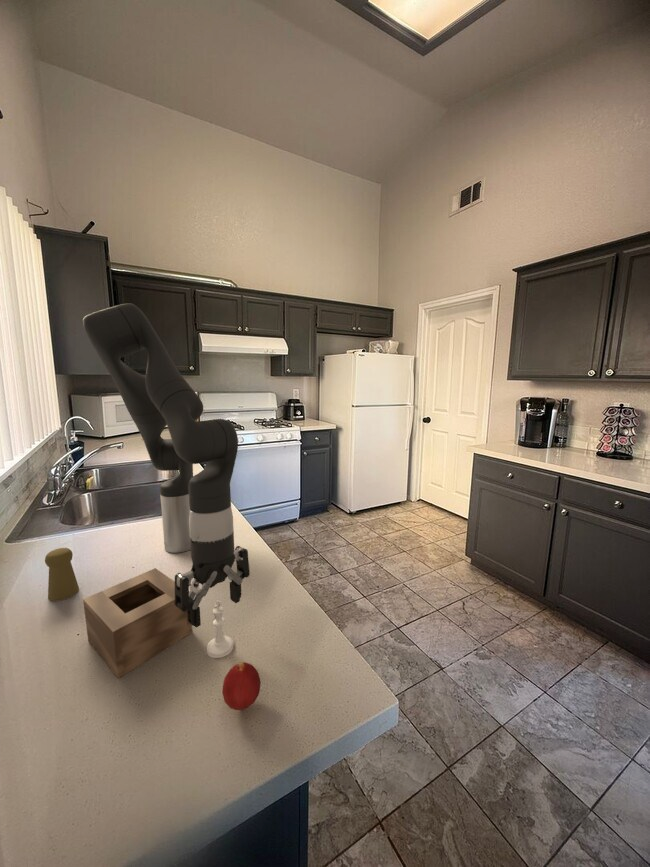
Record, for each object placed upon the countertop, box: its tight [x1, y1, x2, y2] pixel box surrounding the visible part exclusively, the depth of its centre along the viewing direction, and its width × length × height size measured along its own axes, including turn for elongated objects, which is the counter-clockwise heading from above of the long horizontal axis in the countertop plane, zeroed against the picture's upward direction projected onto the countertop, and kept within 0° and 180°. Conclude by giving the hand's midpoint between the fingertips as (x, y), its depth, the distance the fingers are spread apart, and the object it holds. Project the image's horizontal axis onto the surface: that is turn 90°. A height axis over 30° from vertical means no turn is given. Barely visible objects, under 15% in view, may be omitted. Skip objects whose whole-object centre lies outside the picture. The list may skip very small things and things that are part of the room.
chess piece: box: [206, 599, 234, 659], centre depth 66 cm, size 5×5×10 cm
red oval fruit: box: [222, 661, 262, 711], centre depth 54 cm, size 6×6×8 cm
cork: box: [44, 547, 80, 602], centre depth 83 cm, size 6×6×11 cm
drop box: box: [82, 568, 193, 679], centre depth 69 cm, size 14×14×9 cm
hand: (216, 612), depth 65 cm, fingers open, 8 cm apart
